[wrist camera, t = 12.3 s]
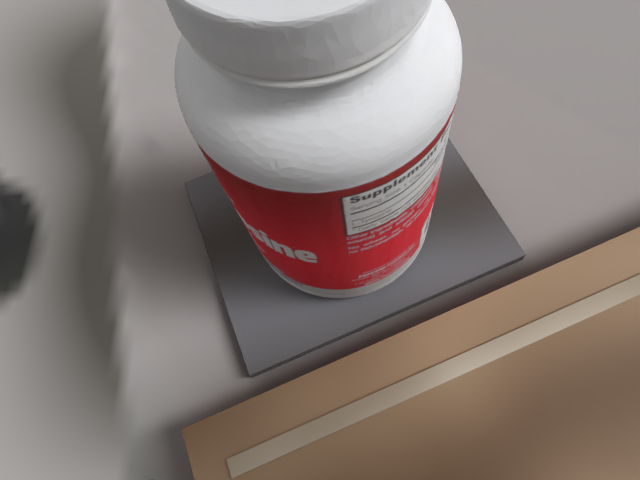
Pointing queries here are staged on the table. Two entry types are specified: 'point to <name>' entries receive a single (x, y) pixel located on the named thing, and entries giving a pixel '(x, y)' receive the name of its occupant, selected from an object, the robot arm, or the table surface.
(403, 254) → the pill bottle
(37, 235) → the table surface
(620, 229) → the table surface
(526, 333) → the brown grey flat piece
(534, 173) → the table surface
